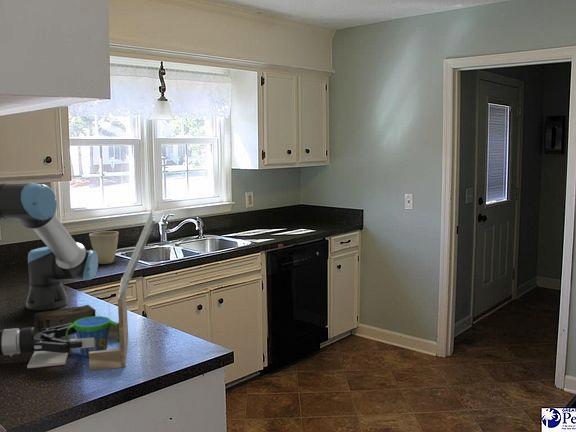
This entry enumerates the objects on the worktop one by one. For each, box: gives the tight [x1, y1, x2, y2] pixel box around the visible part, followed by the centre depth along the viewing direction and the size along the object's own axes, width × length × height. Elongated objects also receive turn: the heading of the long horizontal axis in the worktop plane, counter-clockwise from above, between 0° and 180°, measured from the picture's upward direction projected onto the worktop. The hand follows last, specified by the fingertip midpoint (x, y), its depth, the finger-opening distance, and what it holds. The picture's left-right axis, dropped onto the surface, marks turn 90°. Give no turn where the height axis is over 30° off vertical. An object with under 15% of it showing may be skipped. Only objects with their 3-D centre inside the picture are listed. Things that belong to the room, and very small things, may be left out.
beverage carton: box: [33, 304, 96, 333], centre depth 194 cm, size 8×19×7 cm, turn 126°
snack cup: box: [64, 315, 120, 358], centre depth 170 cm, size 16×10×10 cm
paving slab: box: [26, 351, 70, 369], centre depth 168 cm, size 14×10×1 cm
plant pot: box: [89, 230, 119, 265], centre depth 299 cm, size 15×15×16 cm
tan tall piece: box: [88, 209, 156, 371], centre depth 170 cm, size 27×20×42 cm
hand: (96, 334), depth 170 cm, fingers open, 13 cm apart
